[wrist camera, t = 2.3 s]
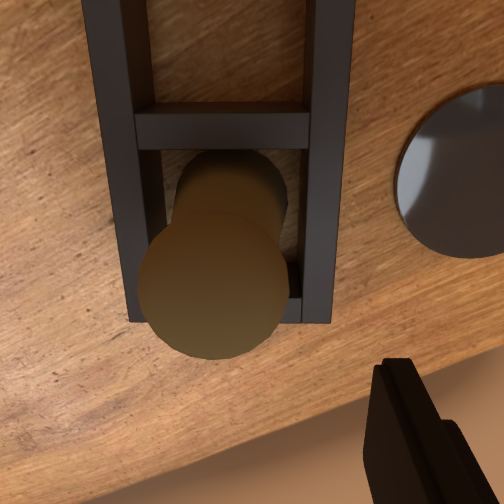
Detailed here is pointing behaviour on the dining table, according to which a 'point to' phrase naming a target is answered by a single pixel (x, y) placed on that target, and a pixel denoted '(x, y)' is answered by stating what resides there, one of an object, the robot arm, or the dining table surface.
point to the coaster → (456, 176)
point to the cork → (219, 258)
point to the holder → (223, 140)
